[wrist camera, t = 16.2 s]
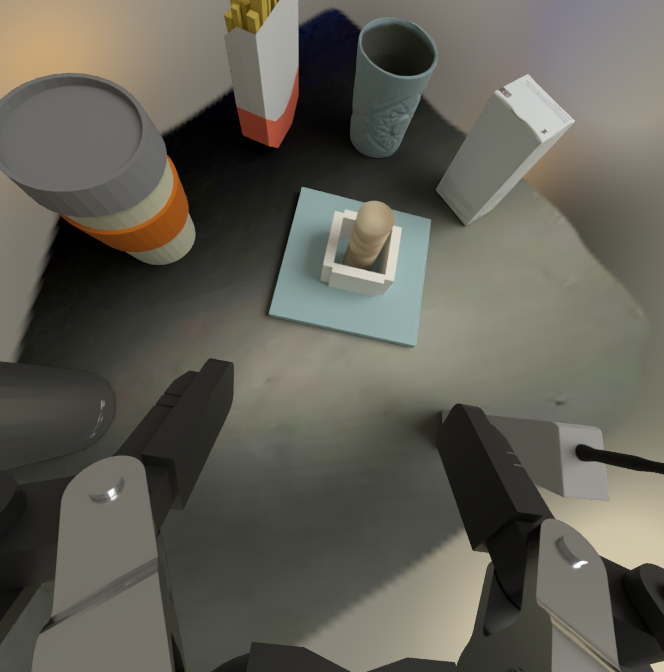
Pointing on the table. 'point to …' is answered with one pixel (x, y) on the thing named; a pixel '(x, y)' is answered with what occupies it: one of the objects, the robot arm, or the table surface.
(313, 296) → the sleeve holder
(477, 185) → the skincare box
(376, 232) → the maple peg
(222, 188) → the table surface
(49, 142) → the reusable coffee cup
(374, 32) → the blue embossed cup
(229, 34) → the french fries container
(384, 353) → the table surface
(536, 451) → the vintage mobile phone
